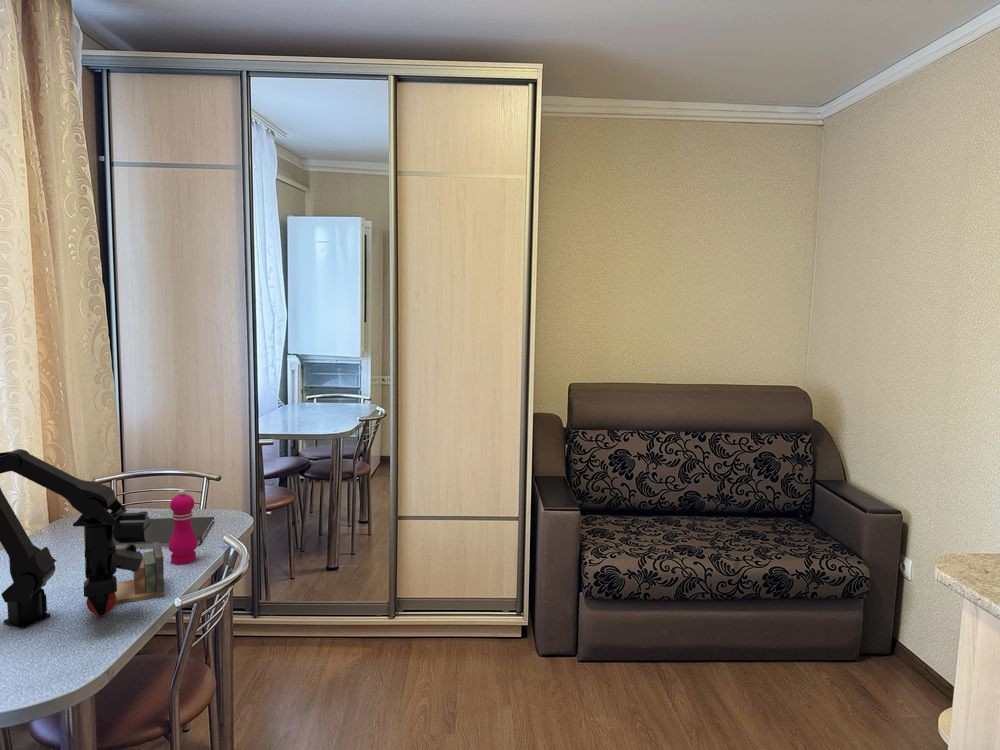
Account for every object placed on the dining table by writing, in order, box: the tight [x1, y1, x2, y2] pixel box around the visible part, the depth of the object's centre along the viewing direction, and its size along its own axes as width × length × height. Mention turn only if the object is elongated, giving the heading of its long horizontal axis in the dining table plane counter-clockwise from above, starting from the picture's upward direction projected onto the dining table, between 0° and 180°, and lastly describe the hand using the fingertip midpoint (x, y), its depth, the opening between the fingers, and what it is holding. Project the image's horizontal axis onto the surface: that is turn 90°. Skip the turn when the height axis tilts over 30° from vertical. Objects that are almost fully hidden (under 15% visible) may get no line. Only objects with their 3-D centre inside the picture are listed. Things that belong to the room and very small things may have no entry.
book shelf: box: [114, 542, 165, 606], centre depth 168 cm, size 15×11×10 cm
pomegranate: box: [86, 593, 116, 617], centre depth 156 cm, size 6×6×8 cm
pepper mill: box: [168, 488, 198, 565], centre depth 188 cm, size 7×7×20 cm
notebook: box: [113, 516, 215, 550], centre depth 207 cm, size 22×2×28 cm
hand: (101, 609), depth 157 cm, fingers closed on pomegranate, 6 cm apart
